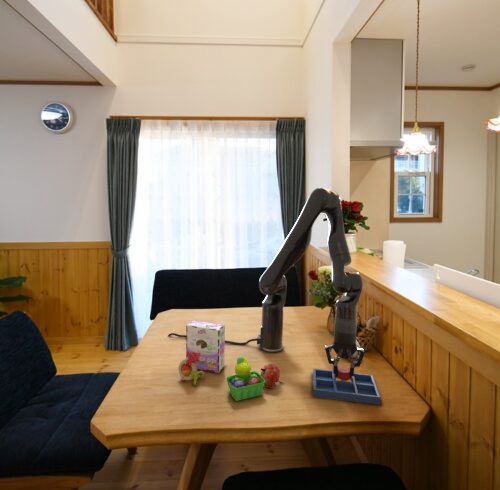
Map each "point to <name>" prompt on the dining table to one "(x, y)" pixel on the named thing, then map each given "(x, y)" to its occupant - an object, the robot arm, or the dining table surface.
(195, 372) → the bird rattle
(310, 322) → the dining table surface
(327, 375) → the grid
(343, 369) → the short red cylinder
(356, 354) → the die
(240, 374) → the fruit basket
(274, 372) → the pomegranate
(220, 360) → the candy box
